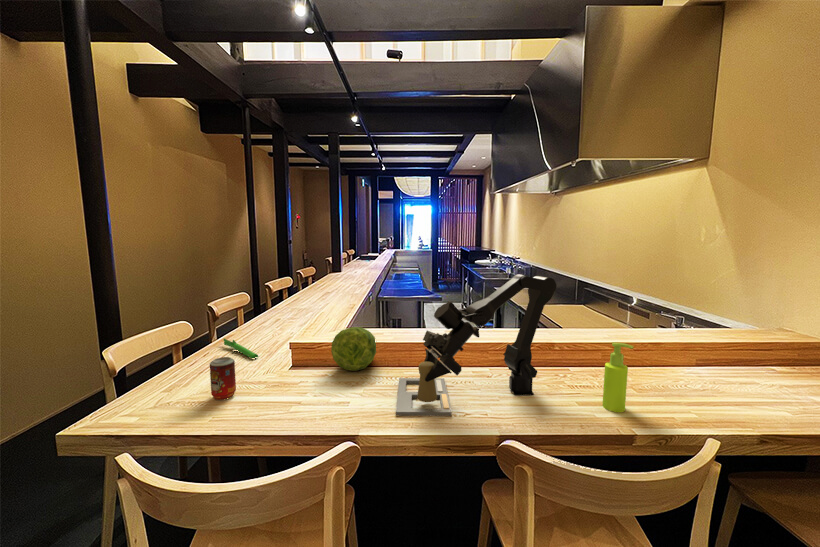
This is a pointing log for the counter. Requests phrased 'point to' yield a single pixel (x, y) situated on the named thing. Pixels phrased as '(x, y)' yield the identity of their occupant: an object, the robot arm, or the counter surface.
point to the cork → (426, 383)
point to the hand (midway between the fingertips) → (422, 377)
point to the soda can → (222, 378)
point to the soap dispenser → (615, 380)
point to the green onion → (240, 348)
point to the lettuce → (353, 348)
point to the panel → (406, 397)
